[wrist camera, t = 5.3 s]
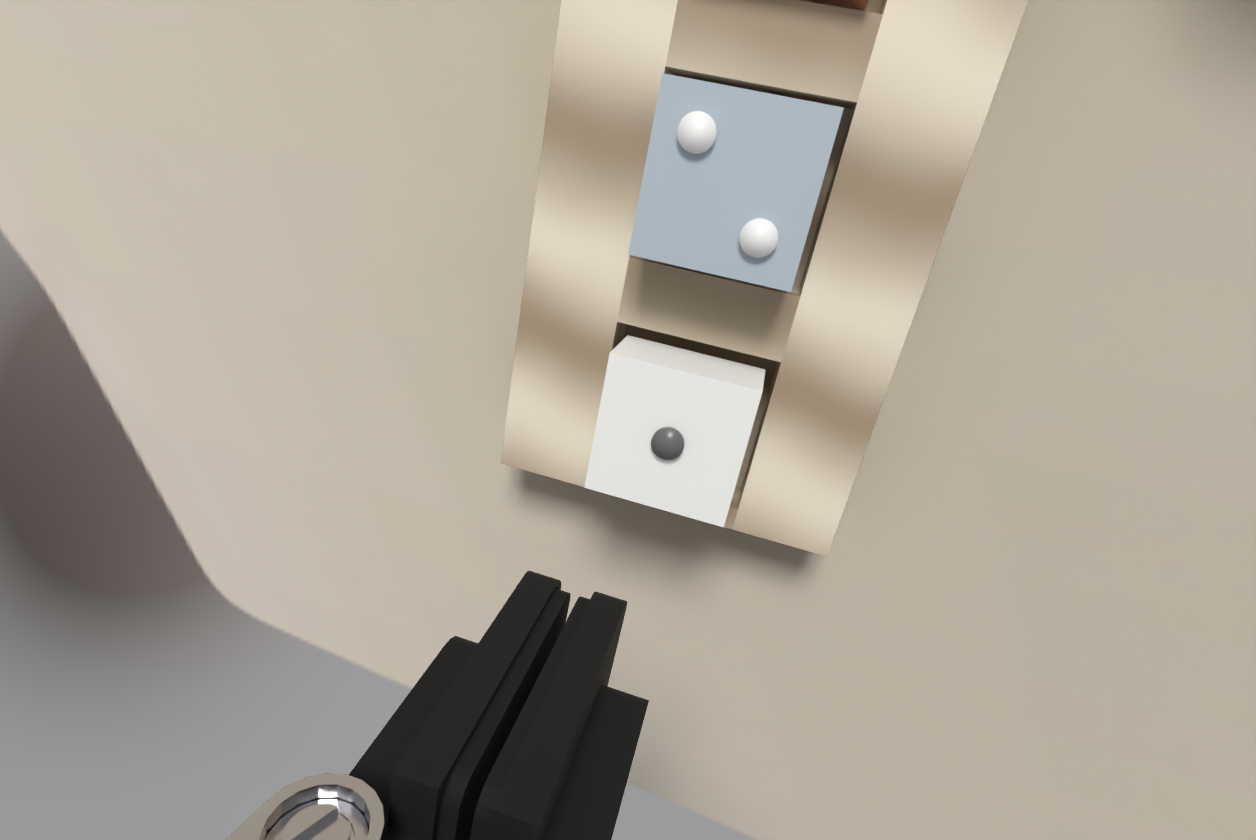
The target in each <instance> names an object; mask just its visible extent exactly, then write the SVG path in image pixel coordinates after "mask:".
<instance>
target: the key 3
mask: <svg viewBox="0 0 1256 840" xmlns="http://www.w3.org/2000/svg"><path fill="white" fill-rule="evenodd" d="M812 1H817V2H823V3H829V4H835V5H841V6H847V7H853V8H859V9H865V10H866V8H867V5H868V3H869V1H870V0H812Z"/></svg>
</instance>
